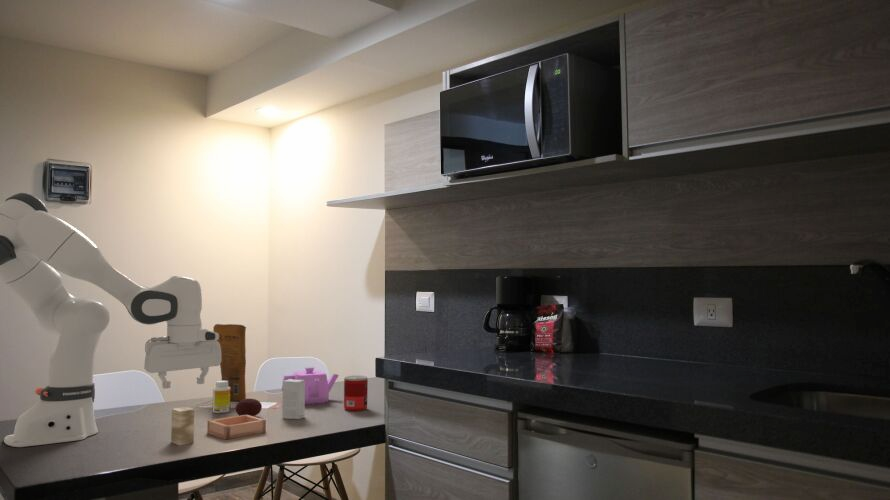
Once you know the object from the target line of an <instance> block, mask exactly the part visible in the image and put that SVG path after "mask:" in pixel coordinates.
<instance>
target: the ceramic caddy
mask: <svg viewBox="0 0 890 500" xmlns="http://www.w3.org/2000/svg"><path fill="white" fill-rule="evenodd" d="M266 428H267V420H266V419H264V418H260V417H256V416H250V415H240V416H239V415H236V416H235V415H234V416H229V417H221V418H217V419H216V418H215V419H210V420H207V431H206V432H207V434H209V435H212V436H215V437H217V438H221V439H224V440H232V439H237V438H243V437H248V436H253V435H258V434H264V433H267V429H266Z"/></svg>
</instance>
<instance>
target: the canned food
mask: <svg viewBox="0 0 890 500" xmlns="http://www.w3.org/2000/svg"><path fill="white" fill-rule="evenodd" d="M368 384H369V383H368V376H367V375H366V376H365V375H348V376H344V380H343V408H344V410H345V411H348V412H362V411H365V410H367V408H368Z"/></svg>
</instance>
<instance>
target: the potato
mask: <svg viewBox="0 0 890 500" xmlns="http://www.w3.org/2000/svg"><path fill="white" fill-rule="evenodd" d="M262 409H263V407H262V403H261V401H260V400H257V399H256V398H246V399H243V400H241V401H238V402H237V403H236V406H235V413H236V414H237V416H240V415H250V416H254V417H256V416H257V415H259V414H260V413H261V411H262Z"/></svg>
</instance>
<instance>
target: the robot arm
mask: <svg viewBox="0 0 890 500" xmlns="http://www.w3.org/2000/svg"><path fill="white" fill-rule="evenodd" d="M60 273H62V274H65V276H69V277H70V278H73V279H78V280H81V281H85V282H88V283H91V284H93V285H94V286H97V287H99V288H100V289H101V290H103V291H105V292H106V293H107V294H109V296H110V295H111V296H112V297H113V298H114V299H116V300H118V301H119V302H120V303H121V304H123V305H124V307H125V308H126V310H127V312H128V314H129V316H130V317H131V318H132V319H133V320H134V321H136V322H138V323H140V324H142V325H147V326H150V325H151V326H153V325H156V324H159V323H163V322H166V336H160V337H157V336H156V337H151V338H150V339H148V340H147V341H146V342H145V344H144V345H145V346H144V352H145V358H144V363H143V364H144V366H143V367H144V370H145V371H146V373H150V374H156V373H157V376H158V377H159V379H160V380H161V383H162V388H163V389H170V388H171V381H169V380H167V378H166V376H167V374H168V373H167V372H175V371H182V370H185V371H186V370H192V369H200V371H201V373H200V375H199V376H198V377H196V384H197V385H204V384H205V378H206V376H207V374H208V373H209V370H210V369H209V368H212V367H213V368H214V367H218V366H219V367H220V363H221V346H220V344H219V342H218V341H216V340H218V339H219V334H218V333H216V332H214V331H211V330H208V329H205V328H203V327H202V319H201V312H202V308H203V305H202V304H203V303H202V302H203V301H202V300H203V297H202V287H201V284H200V283H199V281H197V280H196V279H195V278H191V277H186V276H179V275H178V276H177V275H173V276H170V277H169V279H167V280H165V281H163V282H161V283H159V284H156V285H154V286H151V287H148V286H143V285H140V284H138V283H136V282H135V281H133V280H132V279H130V278H128V276H126V275H125V274H123V273H121V272H120V271H119V270H117V269H116V268H115V267H113V265H111V264H110V262H109V261H108V260H107V259H106V258H105V256H104V254H103V253H102V252H101V249H99V247H98V246H97V245H96V244H95V243H94V242H93V241H92V240H91V239H90V238H89V237H88V236H87V235H85V234H84V233H82V231H80V230H78V229H77V228H76V227H74V226H72V224H70V223H68V222H66V221H65V220H63V219H62V218H61V219H60V218H59V217H57V216H55V215H53V214H51V213H49V211H48V209H47V206H46V205H45V203H44V202H43V201H41V199H39V198H38V197H36V196H34V195H33V194H29V193H26V192H25V193H24V192H19V193H16V194H12V195H11V196H9V197H8V198H6V199H5V200H4V202H2V203H1V204H0V280H1V281H3V283H4V284H6V286H8V287H9V288H10V289H11V290H12V291H13V292H14V294H16V295H18V297H19V298H20V299H22V301H24V303H26V305H27V306H28V307H29V309H30V310H31V312H32V313H33V314H34V316H35V317H36V319H37V322H38V324H39V326H40V327H41V328H42V329H43V330H45V331H47V332H48V333H51V334H52V335H56V336H59V338H58V341H57V345H56V347H55V350H54V352H53V353H52V354H51V355H50V358H49V364H48V366H49V368H48V369H49V370H48V385H47V386H45V387H43V388H42V387H37V388H36V389H35V390H34V392H35V394H36V395H38V396H39V401H37V402H36V403H35V404H34V405H33V406H31V407H30V408H29V409H27V410H26V411H25V412H23V413H22V414H20V415H19V416H18V418H17V420H16V423H15V424H14V425H15V426H14V430H13V434H9V435H6V436H5V437H4V440H3V442H4V444H5V445H7V446H10V447H14V448H15V447H16V448H25V447H31V446H32V447H33V446H42V445H50V444H57V443H66V442H67V443H68V442H73V441H75V442H76V441H82V440H84V439H86V438H87V437H90V436H93V435H95V434H98V432H99V430H98V427H97V424H96V418H95V412H94V410H95V409H94V402H95V398H96V396H95V395H96V388H95V383H94V367H95V365H94V363H95V355H96V354H95V353H96V350H97V347H98V343H99V340H100V338H101V336H102V334H103V332H104V331H105V330H106V329H107V327H108V325H109V323H110V312H109V309H108V308H107V307H106V306H105V305H104V303H101V302H99V301H97V300H95V299H92V298H86V297H85V298H84V297H83V298H82V297H79V298H78V297H76V296H74V295H72V294H71V293H70V292H69V290H68V289H67V287H66V286H65V285H64V282H63V277H62V275H61V274H60Z"/></svg>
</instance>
